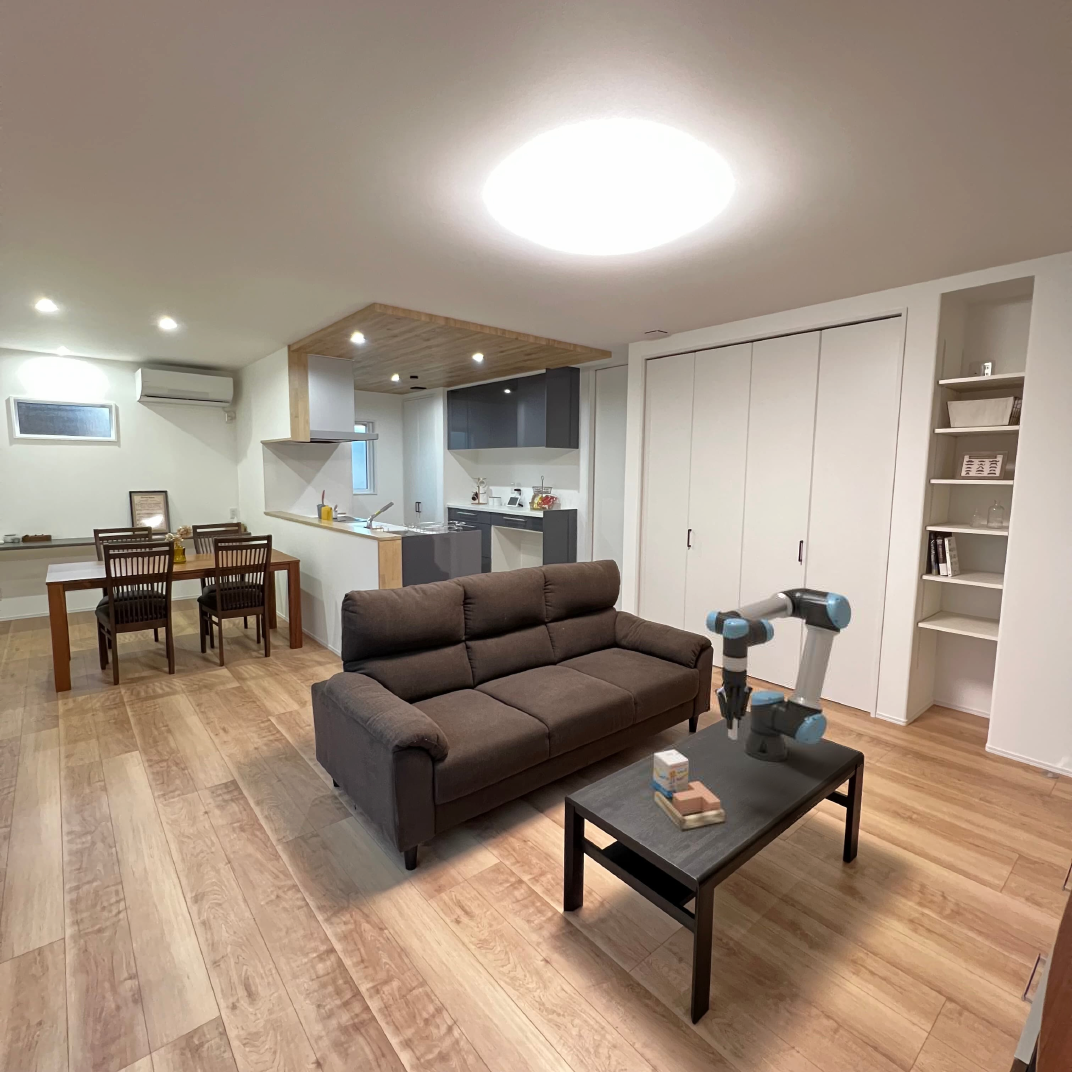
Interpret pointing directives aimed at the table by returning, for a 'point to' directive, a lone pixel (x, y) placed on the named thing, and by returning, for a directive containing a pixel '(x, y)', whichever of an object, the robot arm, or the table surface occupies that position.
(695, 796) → the t block
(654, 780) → the ink box
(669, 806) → the corner fence
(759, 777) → the table surface
